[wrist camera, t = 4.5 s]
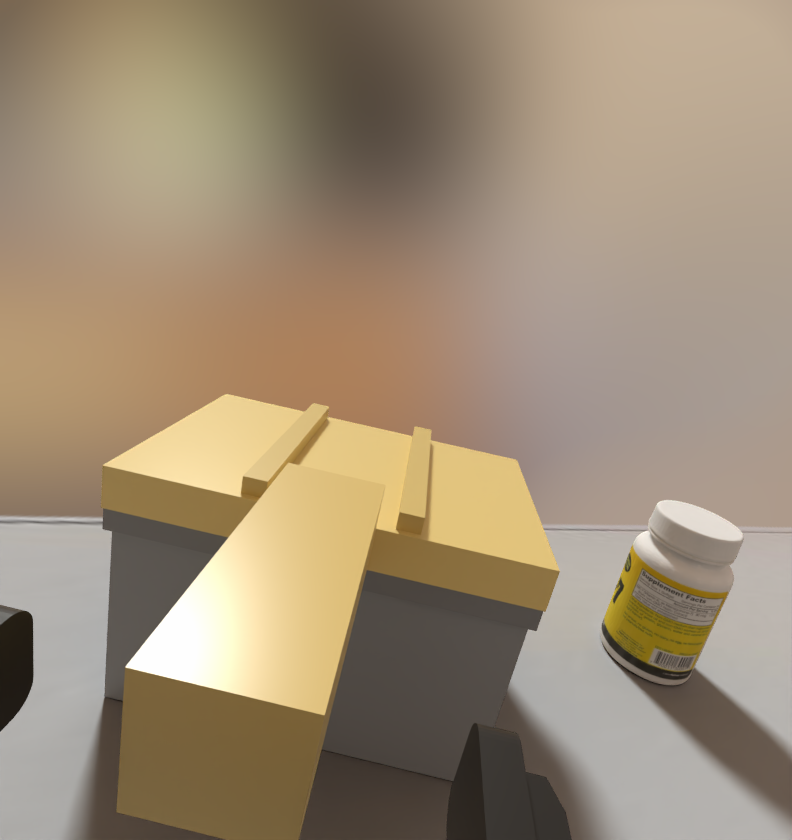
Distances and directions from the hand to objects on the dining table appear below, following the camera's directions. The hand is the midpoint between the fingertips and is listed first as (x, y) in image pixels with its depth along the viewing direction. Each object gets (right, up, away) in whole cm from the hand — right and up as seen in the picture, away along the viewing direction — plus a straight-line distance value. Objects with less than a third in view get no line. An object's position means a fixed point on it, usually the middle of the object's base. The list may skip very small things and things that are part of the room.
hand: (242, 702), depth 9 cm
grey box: (-1, -6, +14) cm, 15 cm away
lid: (0, +1, +8) cm, 8 cm away
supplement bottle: (+16, -8, +19) cm, 26 cm away
